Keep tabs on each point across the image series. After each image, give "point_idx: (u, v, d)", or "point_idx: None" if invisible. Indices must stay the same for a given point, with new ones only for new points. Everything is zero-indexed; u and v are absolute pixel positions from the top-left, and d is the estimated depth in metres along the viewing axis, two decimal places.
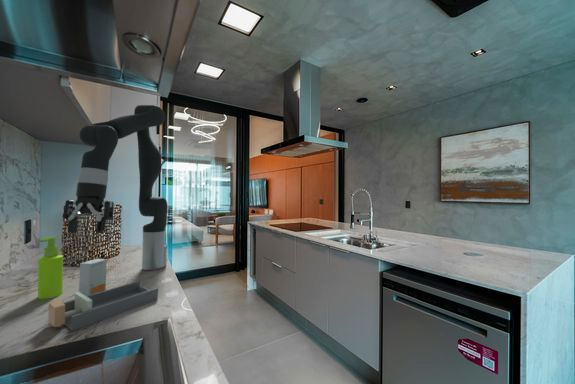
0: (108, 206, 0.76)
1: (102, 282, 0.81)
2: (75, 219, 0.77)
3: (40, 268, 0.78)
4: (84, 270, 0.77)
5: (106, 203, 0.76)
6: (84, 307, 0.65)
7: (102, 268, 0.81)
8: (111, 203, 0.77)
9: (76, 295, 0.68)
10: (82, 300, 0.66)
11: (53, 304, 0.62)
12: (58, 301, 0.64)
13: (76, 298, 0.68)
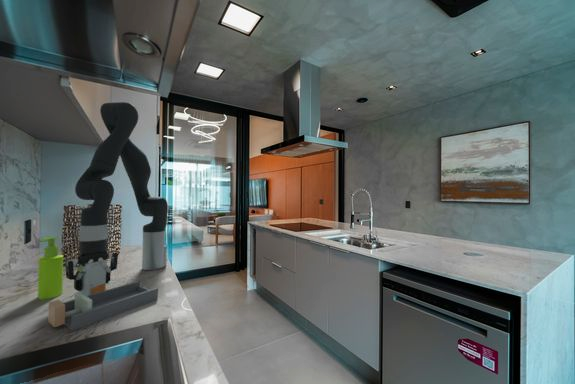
0: (117, 257, 0.85)
1: (102, 282, 0.81)
2: None
3: (40, 268, 0.78)
4: None
5: (116, 255, 0.85)
6: (84, 307, 0.65)
7: (102, 268, 0.81)
8: None
9: (76, 295, 0.68)
10: (82, 300, 0.66)
11: (53, 304, 0.62)
12: (58, 301, 0.64)
13: (76, 298, 0.68)
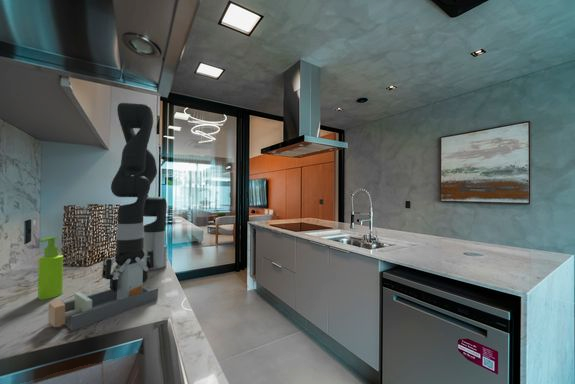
0: (152, 255, 0.82)
1: (139, 284, 0.78)
2: None
3: (40, 268, 0.78)
4: (122, 272, 0.75)
5: (151, 253, 0.82)
6: (84, 307, 0.65)
7: (139, 270, 0.78)
8: None
9: (76, 295, 0.68)
10: (82, 300, 0.66)
11: (53, 304, 0.62)
12: (58, 301, 0.64)
13: (76, 298, 0.68)
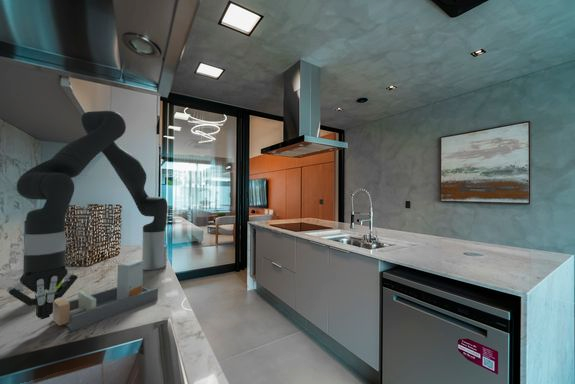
0: (72, 282, 0.64)
1: (139, 284, 0.78)
2: None
3: None
4: (122, 272, 0.75)
5: (74, 278, 0.64)
6: (88, 306, 0.66)
7: (139, 270, 0.78)
8: None
9: (80, 294, 0.69)
10: (86, 299, 0.67)
11: (58, 303, 0.63)
12: (63, 299, 0.64)
13: (80, 297, 0.69)
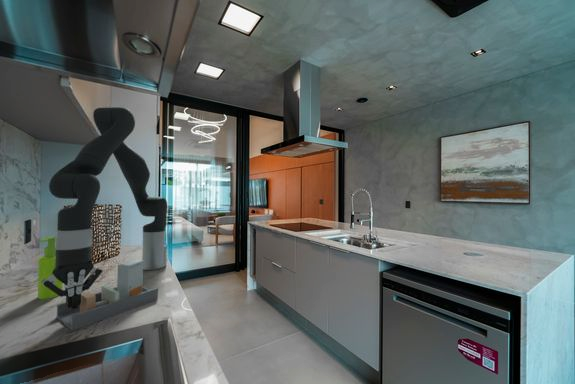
0: (98, 276, 0.69)
1: (139, 284, 0.78)
2: None
3: (40, 268, 0.78)
4: (122, 272, 0.75)
5: (99, 272, 0.69)
6: (111, 298, 0.71)
7: (139, 270, 0.78)
8: None
9: (103, 287, 0.74)
10: (110, 292, 0.71)
11: (84, 295, 0.67)
12: (88, 292, 0.69)
13: (103, 290, 0.74)
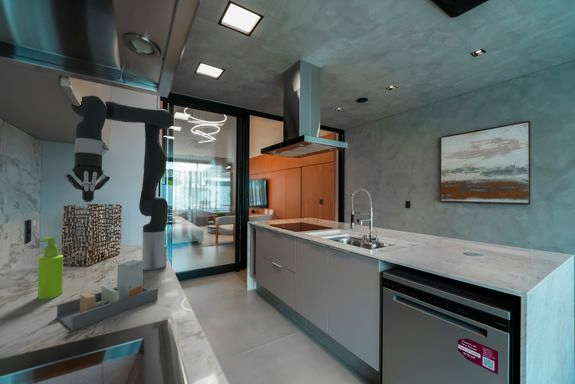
0: (106, 181, 0.88)
1: (139, 284, 0.78)
2: None
3: (40, 268, 0.78)
4: (122, 272, 0.75)
5: (107, 178, 0.88)
6: (111, 298, 0.71)
7: (139, 270, 0.78)
8: None
9: (103, 287, 0.74)
10: (110, 292, 0.71)
11: (84, 295, 0.67)
12: (88, 292, 0.69)
13: (103, 290, 0.74)
